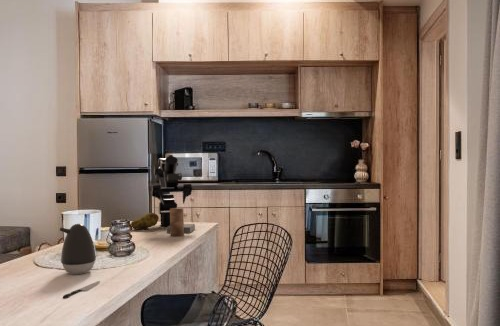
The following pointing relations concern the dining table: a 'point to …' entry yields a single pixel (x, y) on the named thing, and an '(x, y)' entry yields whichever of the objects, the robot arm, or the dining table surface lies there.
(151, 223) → the green bumpy oblong piece
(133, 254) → the dining table surface
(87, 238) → the pump dispenser
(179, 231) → the walnut cylinder
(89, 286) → the chef's knife
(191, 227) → the slate base
